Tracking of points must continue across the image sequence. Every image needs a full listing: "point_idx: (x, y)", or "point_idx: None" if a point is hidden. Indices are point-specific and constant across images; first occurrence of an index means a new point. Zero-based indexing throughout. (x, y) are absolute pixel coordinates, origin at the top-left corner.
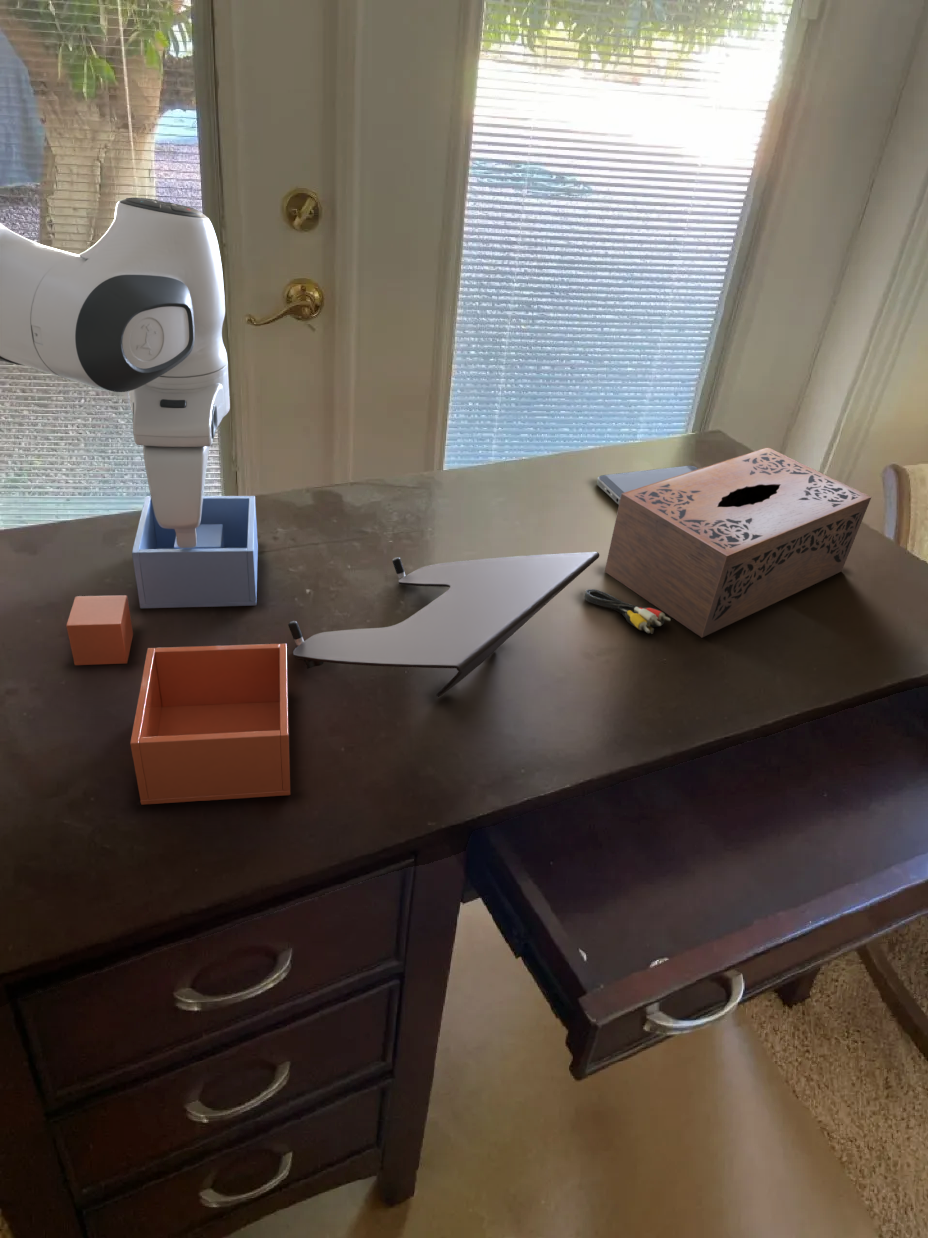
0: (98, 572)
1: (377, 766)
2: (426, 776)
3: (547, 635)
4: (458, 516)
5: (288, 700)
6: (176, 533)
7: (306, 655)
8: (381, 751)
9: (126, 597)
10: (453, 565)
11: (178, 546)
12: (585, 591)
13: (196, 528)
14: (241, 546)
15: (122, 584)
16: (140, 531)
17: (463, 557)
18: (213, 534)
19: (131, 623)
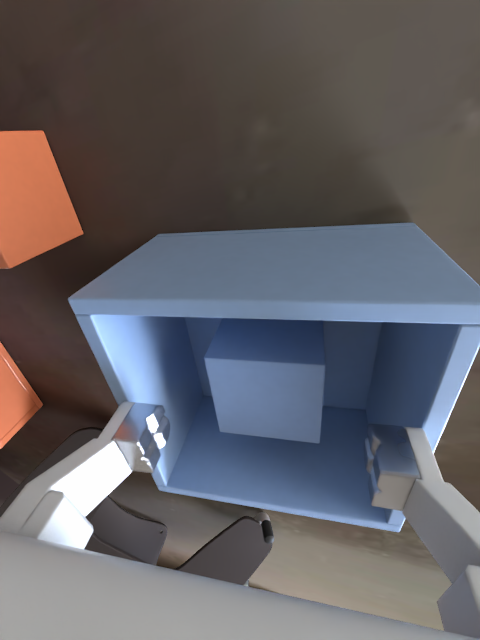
0: (301, 83)
1: (8, 442)
2: (16, 461)
3: (191, 548)
4: (411, 577)
5: (41, 406)
6: (100, 434)
7: (61, 448)
8: (24, 447)
9: (4, 268)
10: (241, 570)
11: (125, 401)
12: (243, 585)
13: (156, 462)
14: (367, 396)
15: (243, 174)
16: (186, 311)
17: (314, 553)
18: (269, 426)
19: (64, 242)
